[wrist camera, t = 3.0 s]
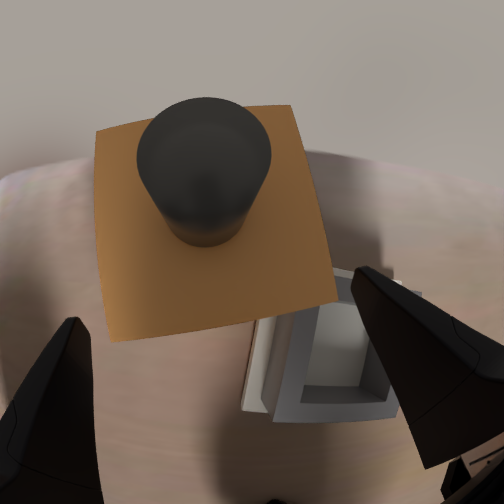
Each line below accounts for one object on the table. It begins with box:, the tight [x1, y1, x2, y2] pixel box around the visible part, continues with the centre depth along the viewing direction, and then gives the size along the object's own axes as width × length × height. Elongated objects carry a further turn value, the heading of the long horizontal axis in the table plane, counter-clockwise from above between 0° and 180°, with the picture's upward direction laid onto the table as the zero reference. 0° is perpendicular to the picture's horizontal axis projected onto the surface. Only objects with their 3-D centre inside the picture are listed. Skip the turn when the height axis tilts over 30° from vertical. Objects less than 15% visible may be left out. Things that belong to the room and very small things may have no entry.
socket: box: [241, 267, 422, 423], centre depth 16 cm, size 10×10×4 cm
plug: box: [94, 97, 339, 342], centre depth 10 cm, size 4×4×15 cm
